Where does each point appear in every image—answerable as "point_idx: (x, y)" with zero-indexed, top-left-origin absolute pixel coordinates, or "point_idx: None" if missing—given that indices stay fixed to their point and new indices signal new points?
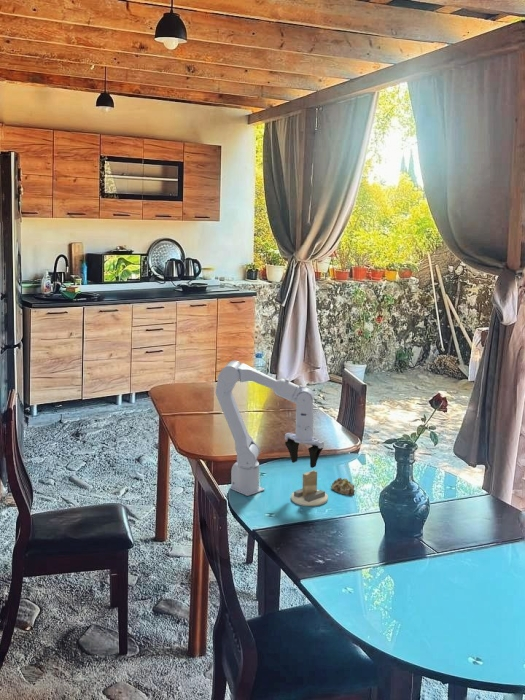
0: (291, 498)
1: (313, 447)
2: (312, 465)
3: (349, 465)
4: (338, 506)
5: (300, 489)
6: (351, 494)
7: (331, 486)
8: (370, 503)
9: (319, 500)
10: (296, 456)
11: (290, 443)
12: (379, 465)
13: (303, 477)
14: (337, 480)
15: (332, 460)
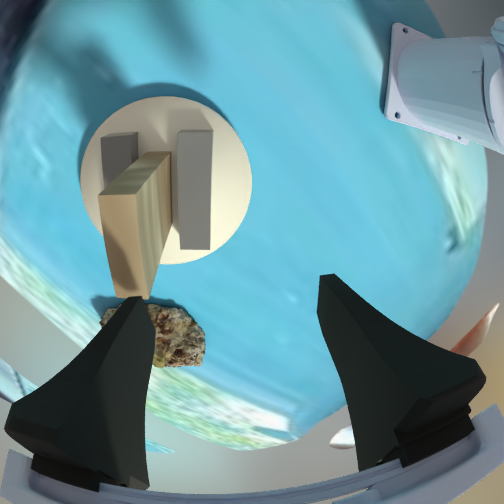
0: (213, 110)
1: (65, 463)
2: (119, 310)
3: (275, 414)
4: (47, 218)
5: (209, 181)
6: (103, 315)
7: (184, 317)
8: (35, 302)
9: (95, 185)
10: (329, 337)
11: (423, 416)
12: (225, 435)
13: (135, 185)
14: (185, 351)
15: (326, 406)
